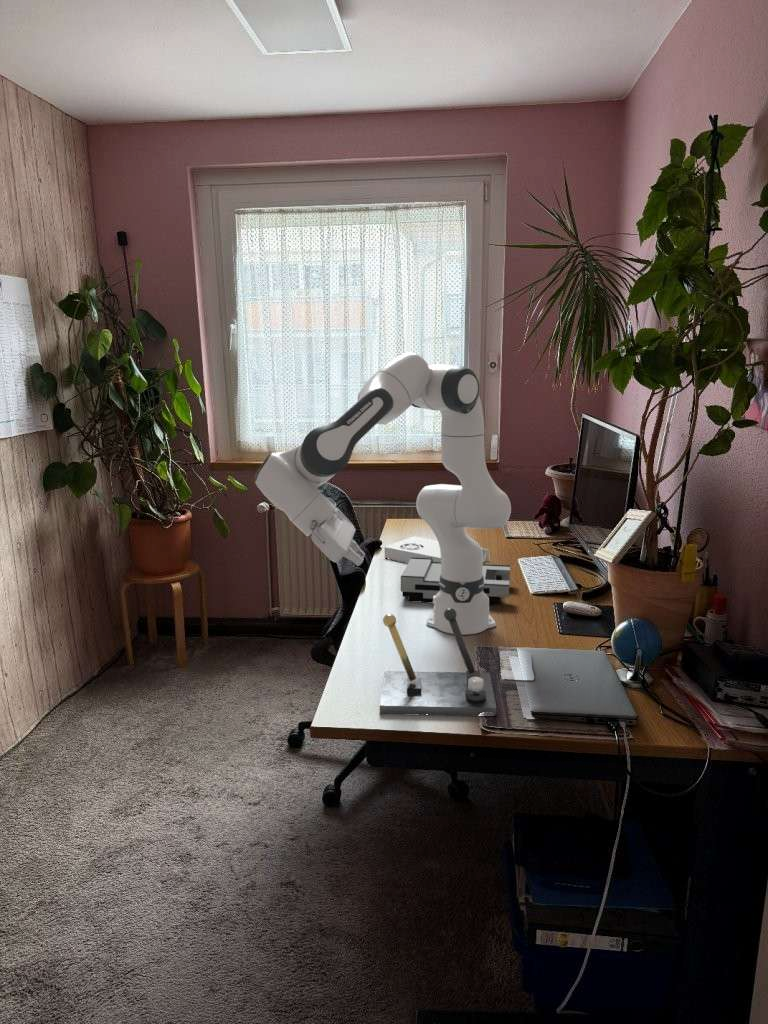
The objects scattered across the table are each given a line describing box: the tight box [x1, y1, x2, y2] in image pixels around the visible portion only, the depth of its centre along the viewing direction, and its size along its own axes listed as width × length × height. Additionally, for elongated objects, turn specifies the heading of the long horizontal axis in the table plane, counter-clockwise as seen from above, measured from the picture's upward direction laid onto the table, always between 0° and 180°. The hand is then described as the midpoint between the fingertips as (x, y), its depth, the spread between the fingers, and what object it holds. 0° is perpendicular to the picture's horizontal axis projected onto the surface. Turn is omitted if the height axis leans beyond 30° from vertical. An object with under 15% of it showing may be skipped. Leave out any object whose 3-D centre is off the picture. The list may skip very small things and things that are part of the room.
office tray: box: [400, 557, 511, 607], centre depth 215 cm, size 21×32×8 cm, turn 79°
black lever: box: [444, 608, 476, 674], centre depth 152 cm, size 3×3×16 cm
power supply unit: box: [384, 535, 490, 564], centre depth 251 cm, size 19×33×5 cm, turn 53°
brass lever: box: [382, 613, 416, 681], centre depth 149 cm, size 3×3×16 cm
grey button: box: [468, 677, 484, 692], centre depth 145 cm, size 3×3×2 cm
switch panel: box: [379, 670, 497, 717], centre depth 150 cm, size 16×24×3 cm, turn 86°
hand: (362, 560), depth 150 cm, fingers open, 2 cm apart
